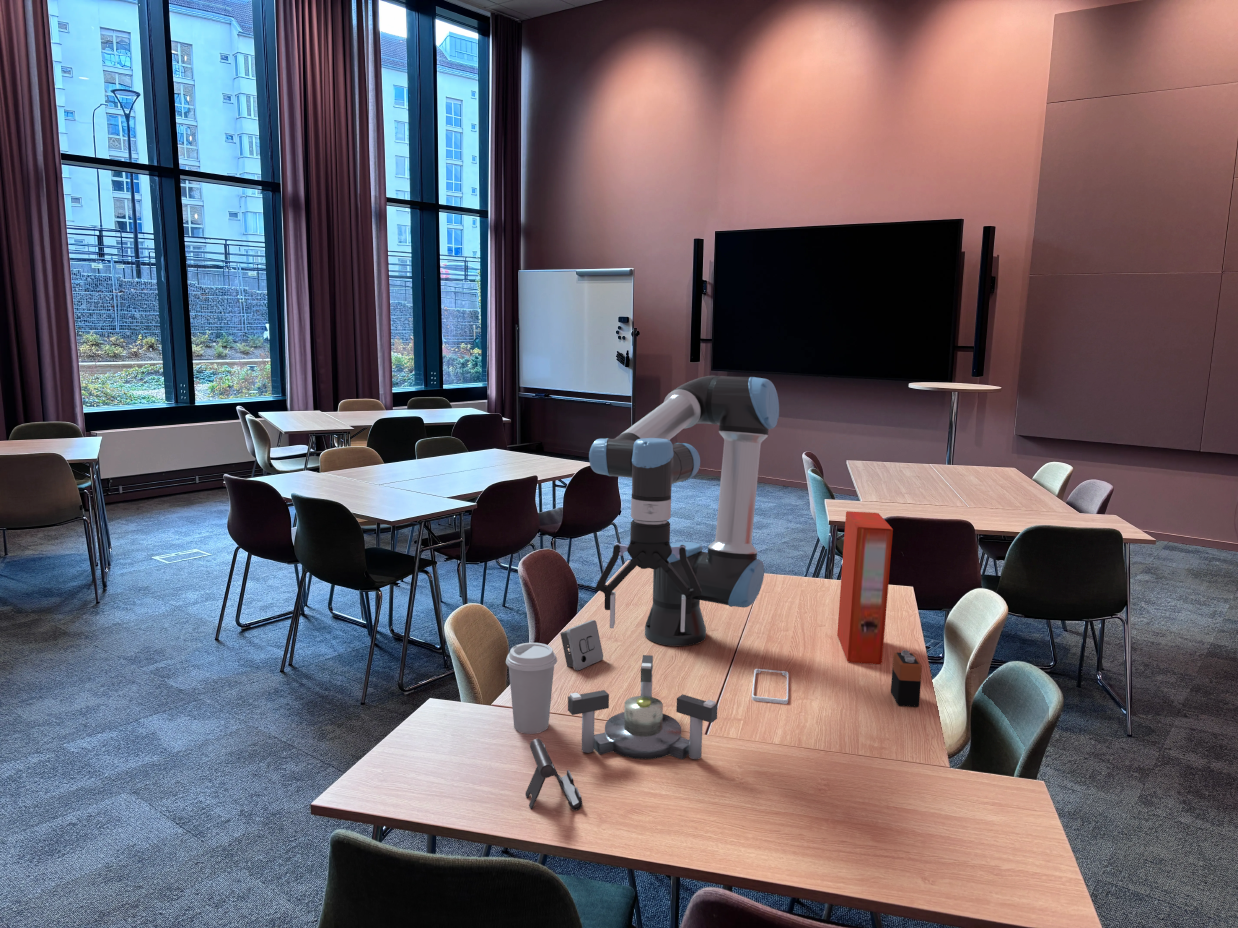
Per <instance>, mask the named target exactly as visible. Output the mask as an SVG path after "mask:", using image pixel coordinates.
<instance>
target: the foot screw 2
mask: <svg viewBox="0 0 1238 928" xmlns="http://www.w3.org/2000/svg"><path fill="white" fill-rule="evenodd" d="M641 659H642V660H641V667H640V696H650V697H653V695H652V694H653V670H654V669H653V667H654V663H653V662H654V655H649V654H647V655H646V654H642V658H641Z"/></svg>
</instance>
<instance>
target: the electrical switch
mask: <svg viewBox="0 0 1238 928" xmlns="http://www.w3.org/2000/svg"><path fill="white" fill-rule="evenodd" d="M597 624H598V623H597V621H596V620H595V619H590V620H588V621H585V622H583V623H581V624H578V625H575V626H573V627H570V628H568V629H567V630H563V631H561V632H560V633H559V634H560V638H561V643H562V648H563V653H564V658H565V662H566V667H569V668H570V667H572V668H573V670H575V671H580V670H583V669H585V668H587V667H589V666H591V665H593V664H595V663H598V662H600V661H602V660H603V659H604V653H603V647H602V643H601V638H600V633H599V628H598V625H597Z"/></svg>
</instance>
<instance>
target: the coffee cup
mask: <svg viewBox="0 0 1238 928" xmlns="http://www.w3.org/2000/svg"><path fill="white" fill-rule="evenodd" d="M556 655H557V654H556V653H555V652H554V651H553V648H552V647H551V646H550V645H548V644H546V643H540V642H525V643H519V644H516V645H514V646H513V647H511V648H510V650H509V653H507V656H506V660H505V664H506V666H508V675H509V686H510V695H511V706H512V707H511V708H512V719H513V727H514V729H515V731H516V732H519V733H521V734H526V735H533V734H534V735H535V734H540V733H543V732H544V731H546V730H547V729H548V728H549V724H550V712H551V705H552V704H551V701H552V691H553V681H554V674H555V673H554V671H555V665H556V664H557V663H558V659H557V656H556Z"/></svg>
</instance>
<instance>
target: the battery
mask: <svg viewBox="0 0 1238 928" xmlns="http://www.w3.org/2000/svg"><path fill="white" fill-rule="evenodd" d="M892 655H893V657H892V666H891V668H892V670H891V671H892V672H891V683H890V693H891V695H892V697H893V699H894V701H895V702H896V704H897V706H898V707H914V708H918V707H919V706H920V700H921V699H920V698H921V697H920V696H921V689H922V688H921V685H922V676H923V675H922V674H923V673H922V672H923V665H922V663H921V662H920V661H919V659H918V657H917V655H916V654H915V653H912V652H910V650H908V649H907V650H906V649H903V650H901V652H893V654H892Z"/></svg>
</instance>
